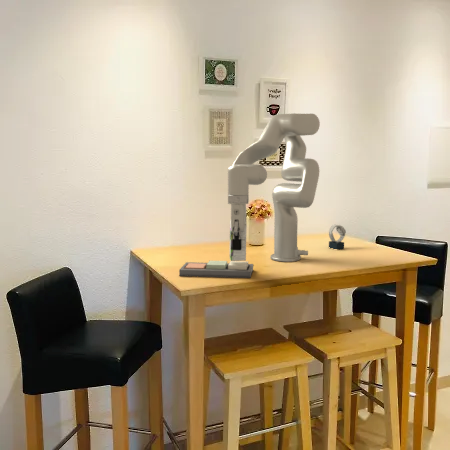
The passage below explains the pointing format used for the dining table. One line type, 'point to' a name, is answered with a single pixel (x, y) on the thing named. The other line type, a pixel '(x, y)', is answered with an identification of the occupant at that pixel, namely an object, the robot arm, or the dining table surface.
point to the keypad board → (216, 272)
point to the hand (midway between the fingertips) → (238, 247)
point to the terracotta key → (195, 266)
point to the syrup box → (241, 254)
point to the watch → (338, 243)
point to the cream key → (238, 265)
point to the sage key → (216, 265)
